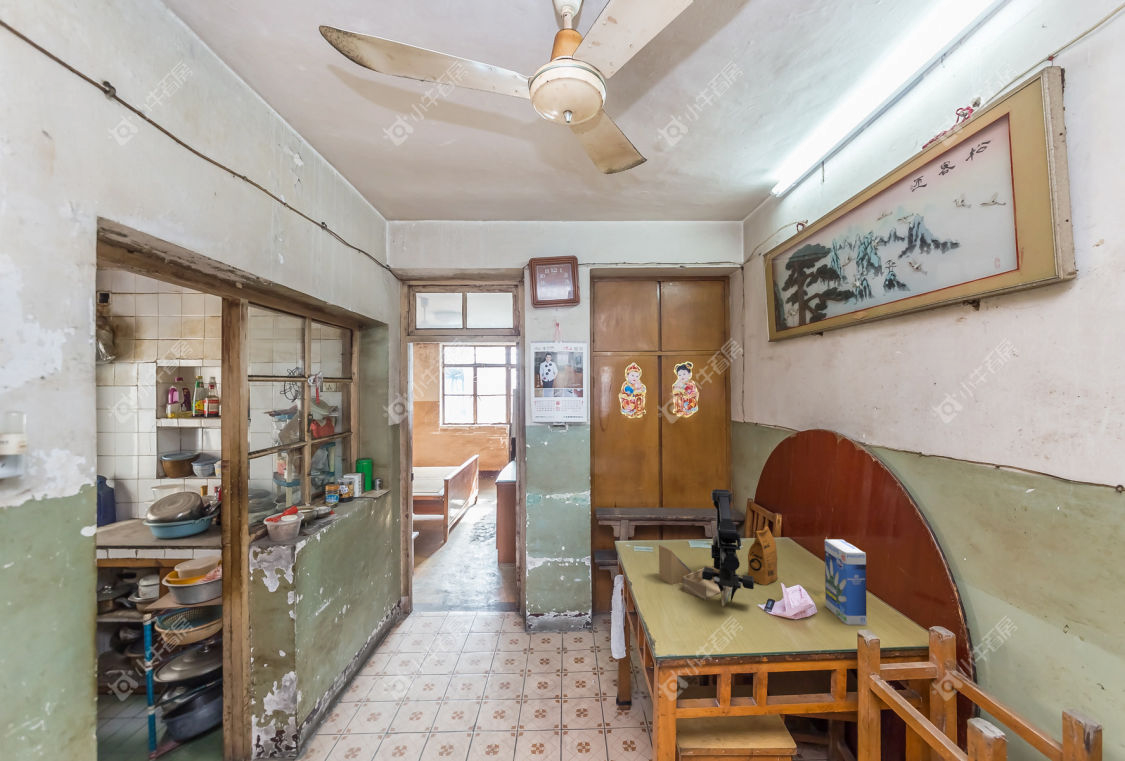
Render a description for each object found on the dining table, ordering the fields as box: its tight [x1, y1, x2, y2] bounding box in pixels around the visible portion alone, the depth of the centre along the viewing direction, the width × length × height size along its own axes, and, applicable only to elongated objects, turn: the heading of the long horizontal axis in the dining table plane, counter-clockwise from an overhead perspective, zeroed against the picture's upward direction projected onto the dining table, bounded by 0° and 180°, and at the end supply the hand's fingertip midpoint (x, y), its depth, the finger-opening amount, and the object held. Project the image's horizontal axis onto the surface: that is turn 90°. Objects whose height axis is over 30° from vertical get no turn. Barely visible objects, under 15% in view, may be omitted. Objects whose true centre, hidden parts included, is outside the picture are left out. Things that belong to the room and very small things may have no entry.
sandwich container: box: [658, 544, 694, 586], centre depth 189 cm, size 9×15×15 cm, turn 116°
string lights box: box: [824, 538, 868, 626], centre depth 157 cm, size 13×8×26 cm, turn 178°
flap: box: [720, 586, 732, 607], centre depth 171 cm, size 17×1×6 cm, turn 146°
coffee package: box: [747, 526, 778, 586], centre depth 186 cm, size 10×12×22 cm
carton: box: [681, 565, 721, 601], centre depth 178 cm, size 18×11×5 cm, turn 126°
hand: (727, 599), depth 166 cm, fingers open, 3 cm apart
